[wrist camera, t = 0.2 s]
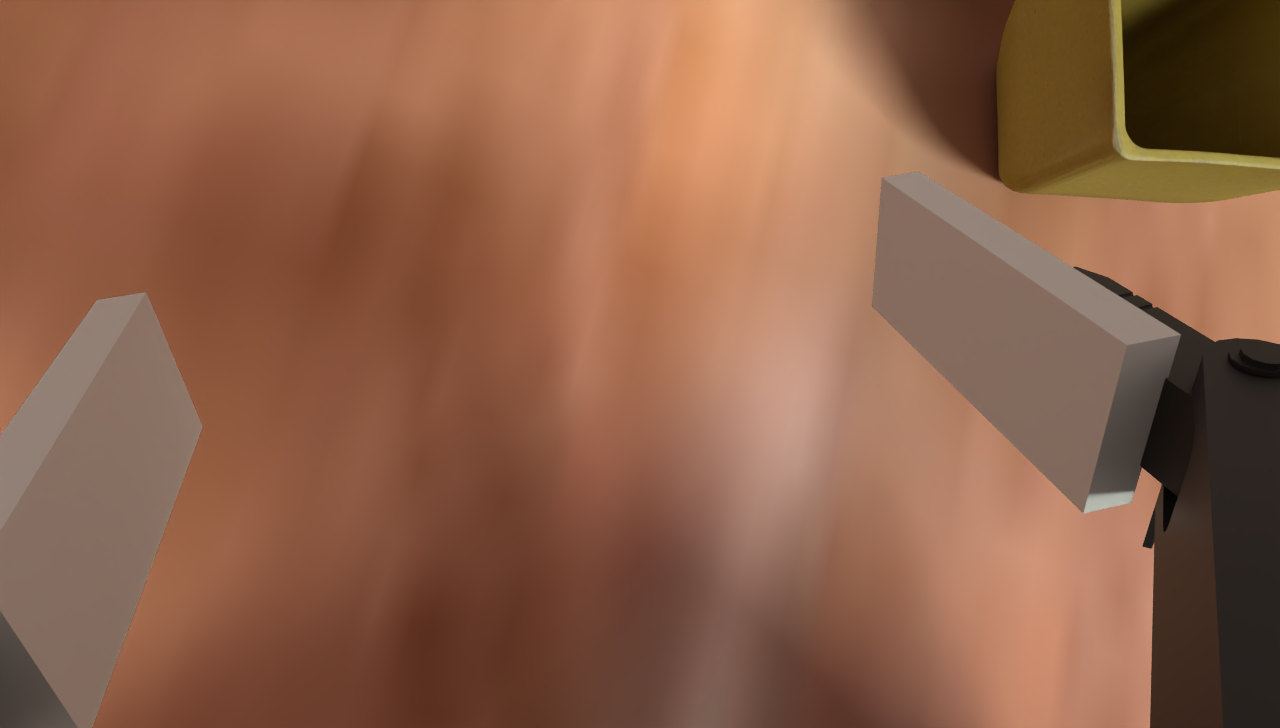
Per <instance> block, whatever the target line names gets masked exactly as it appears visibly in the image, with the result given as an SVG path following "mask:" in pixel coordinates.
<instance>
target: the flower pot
mask: <svg viewBox="0 0 1280 728" xmlns="http://www.w3.org/2000/svg"><path fill="white" fill-rule="evenodd" d="M996 86H997V115H998V169H999V177H1000V179H1001V181H1002V183H1003V184H1004V185H1005V186H1006V187H1008V188H1009V189H1011V190H1013V191H1016V192H1020V193H1028V194H1048V195H1065V196H1081V197H1096V198H1111V199H1126V200H1139V201H1150V202H1166V203H1199V202H1213V201H1220V200H1227V199H1232V198H1238V197H1243V196H1249V195H1254V194H1260V193H1265V192H1270V191H1276V190H1280V0H1015V2H1014V4H1013V7H1012V9H1011V11H1010V14H1009V17H1008V19H1007V22H1006V25H1005V28H1004V32H1003V36H1002V40H1001V45H1000V50H999V56H998V63H997V70H996Z"/></svg>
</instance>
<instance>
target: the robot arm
mask: <svg viewBox="0 0 1280 728" xmlns="http://www.w3.org/2000/svg"><path fill="white" fill-rule="evenodd" d="M872 307H873V308H874V309H875V310H876V311H877V312H878V313H879V314H880V315H881V316H882V317H883V318H884V319H885V320H886V321H887V322H888V323H889V324H890V325H891V326H892V327H893V328H894V329H895V330H896V331H897V332H898V333H899V334H901V335H902V336H903V337H904V338H905V339H906V340H907V341H908V342H909V343H910V344H911V345H912V346H913V347H914V348H915V349H916V350H917V351H918V352H919V353H920V354H921V355H922V356H923V357H924V358H925V359H926V360H927V361H928V362H929V363H930V364H931V365H932V366H933V367H934V368H935V369H936V370H937V371H938V372H939V373H940V374H941V375H942V376H943V377H944V378H945V379H946V380H948V381H949V382H950V383H951V384H952V385H953V386H954V387H955V388H956V389H957V390H958V391H959V392H960V393H961V394H962V395H963V396H964V397H965V398H966V399H967V400H968V401H969V402H970V403H971V404H972V405H973V406H974V407H975V408H976V409H977V410H978V411H979V412H980V413H981V414H982V415H983V416H984V417H985V418H986V419H987V420H988V421H989V422H990V423H991V424H992V425H993V426H995V427H996V428H997V429H998V430H999V431H1000V432H1001V433H1002V434H1003V435H1004V436H1005V437H1006V438H1007V439H1008V440H1009V441H1010V442H1011V443H1012V444H1013V445H1014V446H1015V447H1016V448H1017V449H1018V450H1019V451H1020V452H1021V453H1022V454H1023V455H1024V456H1025V457H1026V458H1027V459H1028V460H1029V461H1030V462H1031V463H1032V464H1033V465H1034V466H1035V467H1036V468H1037V469H1038V470H1039V471H1040V472H1042V473H1043V474H1044V475H1045V476H1046V477H1047V478H1048V479H1049V480H1050V481H1051V482H1052V483H1053V484H1054V485H1055V486H1056V487H1057V488H1058V489H1059V490H1060V491H1061V492H1062V493H1063V494H1064V495H1065V496H1066V497H1067V498H1068V499H1069V500H1070V501H1071V502H1072V503H1073V504H1074V505H1075V506H1076V507H1077V508H1078V509H1079V510H1080V511H1081V512H1082V513H1083V514H1084V513H1088V512H1092V511H1097V510H1101V509H1105V508H1110V507H1114V506H1119V505H1123V504H1127V503H1131V502H1132V499H1133V496H1134V492H1135V489H1136V485H1137V482H1138V479H1139V475H1140V472H1141V469H1142V468H1144V469H1145V470H1146V471H1147V472H1148V473H1150V474H1151V475H1152V476H1153V477H1154V478H1156V479H1157V480H1158V481H1159V482H1160V483H1162V486H1161V489H1160V492H1159V496H1158V499H1157V502H1156V505H1155V508H1154V511H1153V515H1152V518H1151V521H1150V524H1149V527H1148V530H1147V534H1146V537H1145V540H1144V543H1143V547H1147V548H1152V546H1153V544H1154V584H1153V627H1152V671H1151V714H1150V728H1280V344H1275V343H1271V342H1266V341H1262V340H1254V339H1239V338H1235V339H1227V340H1219V341H1216V342H1214V341H1212V340H1211V339H1209V338H1207V337H1206V336H1204V335H1202V334H1201V333H1199V332H1198V331H1196V330H1194V329H1193V328H1191V327H1189V326H1188V325H1186V324H1184V323H1183V322H1181V321H1179V320H1178V319H1176V318H1174V317H1173V316H1171V315H1169V314H1168V313H1166V312H1164V311H1163V310H1161V309H1159V308H1158V307H1156V308H1153V307H1152V304H1151V303H1150V302H1148V301H1146V300H1145V299H1143V298H1141V297H1140V296H1138V295H1135V296H1133V292H1131V291H1130V290H1128V289H1126V288H1125V287H1123V286H1121V285H1120V284H1118V283H1116V282H1115V281H1113V280H1112V279H1110V278H1108V277H1105V276H1102V275H1099V274H1096V273H1093V272H1090V271H1087V270H1084V269H1081V268H1078V267H1072V266H1070V265H1068V264H1067V263H1065V262H1063V261H1062V260H1060V259H1059V258H1057V257H1055V256H1054V255H1052V254H1051V253H1049V252H1047V251H1046V250H1044V249H1043V248H1041V247H1039V246H1038V245H1036V244H1035V243H1033V242H1031V241H1030V240H1028V239H1026V238H1025V237H1023V236H1022V235H1020V234H1018V233H1017V232H1015V231H1014V230H1012V229H1010V228H1009V227H1007V226H1006V225H1004V224H1002V223H1001V222H999V221H998V220H996V219H994V218H993V217H991V216H989V215H988V214H986V213H985V212H983V211H981V210H980V209H978V208H977V207H975V206H973V205H972V204H970V203H969V202H967V201H965V200H964V199H962V198H961V197H959V196H957V195H956V194H954V193H952V192H951V191H949V190H948V189H946V188H944V187H943V186H941V185H940V184H938V183H936V182H935V181H933V180H932V179H930V178H928V177H927V176H925V175H924V174H922V173H920V172H914V173H908V174H901V175H895V176H888V177H882V181H881V194H880V207H879V220H878V233H877V246H876V259H875V272H874V285H873V298H872ZM202 428H203V426H202V424H201V421H200V419H199V417H198V414H197V412H196V409H195V407H194V405H193V402H192V400H191V397H190V395H189V393H188V390H187V388H186V386H185V383H184V381H183V378H182V376H181V374H180V371H179V369H178V366H177V364H176V362H175V359H174V357H173V354H172V352H171V350H170V347H169V345H168V343H167V340H166V338H165V335H164V333H163V331H162V328H161V326H160V323H159V321H158V319H157V316H156V314H155V311H154V309H153V307H152V304H151V302H150V300H149V297H148V295H147V292H144V293H137V294H131V295H124V296H118V297H112V298H105V299H99V300H96V302H95V303H94V305H93V306H92V308H91V309H90V310H89V312H88V313H87V315H86V316H85V317H84V319H83V320H82V322H81V323H80V324H79V326H78V327H77V329H76V330H75V331H74V333H73V334H72V336H71V337H70V338H69V340H68V341H67V343H66V344H65V345H64V347H63V348H62V350H61V351H60V352H59V354H58V355H57V357H56V358H55V360H54V361H53V362H52V364H51V365H50V367H49V368H48V369H47V371H46V372H45V374H44V375H43V376H42V378H41V379H40V381H39V382H38V383H37V385H36V386H35V388H34V389H33V390H32V392H31V393H30V395H29V396H28V397H27V399H26V400H25V402H24V403H23V404H22V406H21V407H20V409H19V410H18V411H17V413H16V414H15V416H14V417H13V419H12V420H11V421H10V423H9V424H8V426H7V427H6V428H5V430H4V431H3V433H2V434H1V435H0V728H92V727H93V725H94V722H95V719H96V717H97V714H98V711H99V708H100V706H101V703H102V700H103V697H104V695H105V692H106V689H107V687H108V684H109V681H110V678H111V676H112V673H113V670H114V668H115V665H116V662H117V659H118V657H119V654H120V651H121V648H122V646H123V643H124V640H125V638H126V635H127V632H128V629H129V627H130V624H131V621H132V619H133V616H134V613H135V610H136V608H137V605H138V602H139V599H140V597H141V594H142V591H143V589H144V586H145V583H146V580H147V578H148V575H149V572H150V570H151V567H152V564H153V561H154V559H155V556H156V553H157V550H158V548H159V545H160V542H161V540H162V537H163V534H164V531H165V529H166V526H167V523H168V521H169V518H170V515H171V512H172V510H173V507H174V504H175V501H176V499H177V496H178V493H179V491H180V488H181V485H182V482H183V480H184V477H185V474H186V472H187V469H188V466H189V463H190V461H191V458H192V455H193V452H194V450H195V447H196V444H197V442H198V439H199V436H200V433H201V431H202Z"/></svg>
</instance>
